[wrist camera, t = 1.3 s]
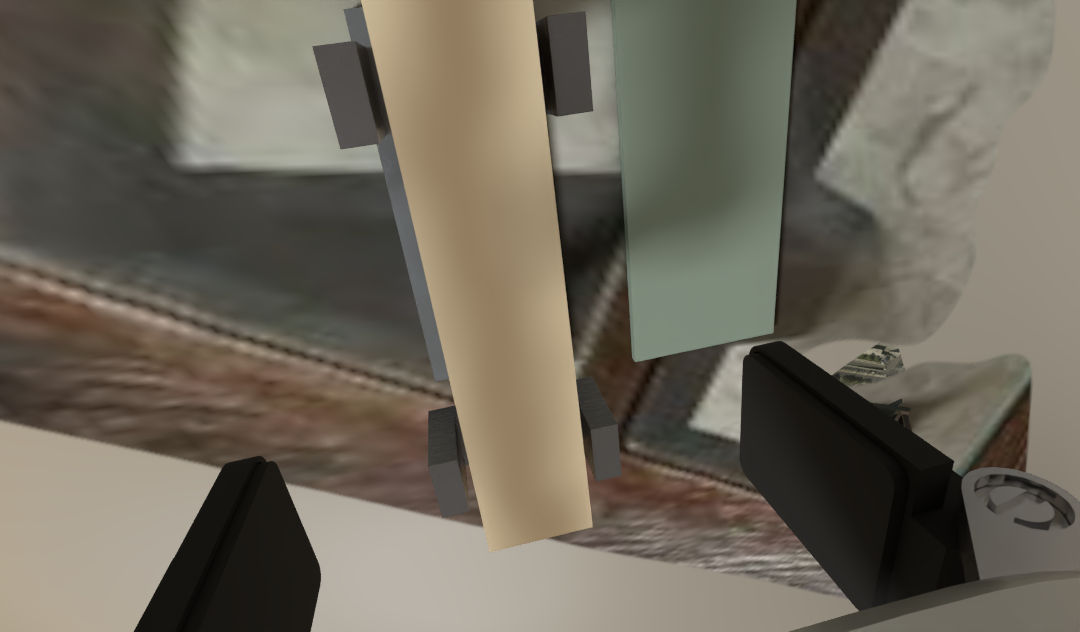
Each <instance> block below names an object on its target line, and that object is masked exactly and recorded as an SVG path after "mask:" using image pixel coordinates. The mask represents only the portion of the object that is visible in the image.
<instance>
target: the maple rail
mask: <svg viewBox="0 0 1080 632" xmlns="http://www.w3.org/2000/svg"><path fill="white" fill-rule="evenodd" d="M361 3H362V7H363V11H364V16H365V20H366V24H367V28H368V33H369V37H370V41H371V46H372V50H373V54H374V58H375V63H376V67H377V71H378V76H379V80H380V84H381V88H382V93H383V97H384V101H385V106H386V110H387V114H388V118H389V123H390V127H391V131H392V136H393V140H394V144H395V148H396V153H397V157H398V161H399V166H400V170H401V174H402V178H403V183H404V187H405V191H406V196H407V200H408V204H409V208H410V213H411V217H412V221H413V226H414V230H415V234H416V238H417V243H418V247H419V251H420V256H421V260H422V264H423V268H424V273H425V277H426V281H427V286H428V290H429V294H430V298H431V303H432V307H433V311H434V316H435V320H436V324H437V328H438V333H439V337H440V341H441V346H442V350H443V354H444V358H445V363H446V367H447V371H448V376H449V380H450V384H451V388H452V393H453V397H454V401H455V406H456V410H457V414H458V418H459V423H460V427H461V431H462V436H463V440H464V444H465V448H466V453H467V457H468V461H469V466H470V470H471V474H472V478H473V483H474V487H475V491H476V496H477V500H478V504H479V508H480V513H481V517H482V521H483V526H484V530H485V534H486V538H487V542H488V547H489V551H490V552H493V551H497V550H501V549H505V548H509V547H513V546H517V545H521V544H526V543H530V542H534V541H538V540H542V539H546V538H550V537H554V536H558V535H562V534H566V533H570V532H574V531H578V530H582V529H586V528H590V527H593V525H592V517H591V508H590V499H589V490H588V481H587V473H586V464H585V455H584V446H583V437H582V429H581V420H580V411H579V402H578V393H577V385H576V376H575V367H574V358H573V349H572V341H571V332H570V323H569V314H568V305H567V297H566V288H565V279H564V270H563V262H562V253H561V244H560V235H559V226H558V218H557V209H556V200H555V191H554V182H553V174H552V165H551V156H550V147H549V138H548V130H547V121H546V112H545V103H544V94H543V86H542V77H541V68H540V59H539V50H538V42H537V33H536V24H535V15H534V7H533V0H361Z"/></svg>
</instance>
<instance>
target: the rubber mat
mask: <svg viewBox="0 0 1080 632" xmlns="http://www.w3.org/2000/svg"><path fill="white" fill-rule="evenodd" d="M611 6H612V23H613V40H614V57H615V74H616V90H617V107H618V124H619V141H620V158H621V175H622V192H623V209H624V226H625V243H626V259H627V276H628V293H629V310H630V327H631V344H632V358H633V359H634V361H635V362H638V361H642V360H647V359H652V358H657V357H661V356H666V355H671V354H676V353H680V352H685V351H690V350H694V349H699V348H704V347H709V346H713V345H718V344H723V343H727V342H732V341H737V340H742V339H746V338H751V337H756V336H761V335H765V334H770V333H773V329H774V315H775V301H776V286H777V272H778V258H779V243H780V229H781V215H782V200H783V186H784V172H785V157H786V143H787V129H788V115H789V100H790V86H791V72H792V57H793V43H794V29H795V14H796V0H611Z"/></svg>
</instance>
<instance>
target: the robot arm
mask: <svg viewBox="0 0 1080 632" xmlns="http://www.w3.org/2000/svg"><path fill="white" fill-rule="evenodd" d="M740 463H741V467H742V470H743V472H744V474H745V475H746V476H747V478H748V479H749V480H750V481H751V483H752V484H753V485H754V486H755V487H756V489H757V490H758V491H759V492H760V493H761V495H762V496H763V497H764V498H765V499H766V501H767V502H768V503H769V504H770V505H771V507H772V508H773V509H774V510H775V511H776V513H777V514H778V515H779V516H780V517H781V519H782V520H783V521H784V522H785V523H786V524H787V526H788V527H789V528H790V529H791V530H792V532H793V533H794V534H795V535H796V536H797V538H798V539H799V540H800V541H801V542H802V544H803V545H804V546H805V547H806V548H807V550H808V551H809V552H810V553H811V554H812V556H813V557H814V558H815V559H816V560H817V562H818V563H819V564H820V565H821V566H822V568H823V569H824V570H825V571H826V572H827V574H828V575H829V576H830V577H831V578H832V580H833V581H834V582H835V583H836V584H837V586H838V587H839V588H840V589H841V590H842V592H843V593H844V594H845V595H846V596H847V598H848V599H849V600H850V601H851V602H852V604H853V605H854V606H855V607H856V608H857V609H858V610H859V611H858V612H855V613H852V614H848V615H845V616H841V617H838V618H835V619H831V620H828V621H824V622H821V623H818V624H814V625H811V626H808V627H804V628H800V629H797V630H793V631H790V632H1080V502H1079V501H1078V500H1077V499H1076V498H1075V497H1074V496H1072V495H1071V494H1070V493H1069V492H1068V491H1066V490H1064V489H1062V488H1061V487H1059V486H1057V485H1055V484H1054V483H1052V482H1050V481H1048V480H1045V479H1042V478H1040V477H1037V476H1035V475H1032V474H1029V473H1025V472H1021V471H1017V470H1013V469H1006V468H997V467H991V468H979V469H977V470H974V471H971V472H968V474H967V475H966V476H965V477H964V478H962V477H961V476H960V475H958V474H957V473H955V472H954V471H953V470H952V468H953V464H954V461H953V460H952V459H950V458H949V457H947V456H946V455H944V454H943V453H942V452H940V451H939V450H937V449H936V448H934V447H933V446H932V445H930V444H929V443H927V442H926V441H924V440H923V439H922V438H920V437H919V436H917V435H916V434H914V433H913V432H912V431H910V430H909V429H907V428H906V427H904V426H903V425H902V424H900V423H899V422H897V421H896V420H894V419H893V418H892V417H890V416H889V415H887V414H886V413H884V412H883V411H882V410H880V409H879V408H877V407H876V406H874V405H873V404H872V403H870V402H869V401H867V400H866V399H864V398H863V397H862V396H860V395H859V394H857V393H856V392H854V391H853V390H852V389H850V388H849V387H847V386H846V385H844V384H843V383H842V382H840V381H839V380H837V379H836V378H834V377H833V376H832V375H830V374H829V373H827V372H826V371H824V370H823V369H821V368H820V367H819V366H817V365H816V364H814V363H813V362H811V361H810V360H809V359H807V358H806V357H804V356H803V355H801V354H800V353H799V352H797V351H796V350H794V349H793V348H791V347H790V346H789V345H787V344H786V343H784V342H782V341H777V342H772V343H767V344H763V345H758V346H754V347H753V348H751V350H750V353H749V355H746V356H745V357H744V359H743V376H742V406H741V435H740ZM320 582H321V573H320V566H319V563H318V561H317V558H316V556H315V553H314V551H313V549H312V546H311V544H310V542H309V539H308V537H307V534H306V532H305V530H304V527H303V525H302V523H301V520H300V518H299V516H298V513H297V511H296V508H295V506H294V504H293V501H292V499H291V496H290V494H289V492H288V489H287V487H286V484H285V482H284V480H283V477H282V475H281V473H280V470H279V468H278V466H277V464H276V463H275V462H273V461H270V462H266V460H265V459H264V458H263V457H261V456H256V457H252V458H247V459H243V460H238V461H234V462H229V463H227V464H225V465H224V467H223V468H222V470H221V472H220V473H219V475H218V477H217V479H216V481H215V483H214V485H213V487H212V488H211V490H210V492H209V494H208V496H207V498H206V500H205V501H204V503H203V505H202V507H201V509H200V511H199V513H198V514H197V516H196V518H195V520H194V522H193V524H192V526H191V527H190V529H189V531H188V533H187V535H186V537H185V539H184V541H183V543H182V544H181V546H180V548H179V550H178V552H177V554H176V555H175V557H174V559H173V560H172V562H171V563H170V565H169V567H168V569H167V571H166V573H165V575H164V577H163V579H162V580H161V582H160V584H159V586H158V588H157V589H156V591H155V593H154V595H153V597H152V599H151V601H150V603H149V605H148V606H147V608H146V610H145V612H144V614H143V616H142V617H141V619H140V621H139V623H138V625H137V627H136V628H135V630H134V632H310V631H311V626H312V622H313V617H314V612H315V607H316V603H317V598H318V593H319V588H320Z"/></svg>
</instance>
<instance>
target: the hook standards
mask: <svg viewBox="0 0 1080 632" xmlns="http://www.w3.org/2000/svg"><path fill="white" fill-rule="evenodd" d="M344 13H345V17H346V21H347V25H348V29H349V33H350V37H351V42H343V43H335V44H327V45H320V46H312V47H313V51H314V54H315V58H316V62H317V65H318V69H319V72H320V76H321V80H322V83H323V87H324V91H325V94H326V98H327V101H328V105H329V109H330V112H331V116H332V119H333V123H334V127H335V130H336V134H337V138H338V141H339V145H340V148H341V149H347V148H353V147H360V146H366V145H373V144H377V147H378V151H379V155H380V159H381V163H382V167H383V171H384V175H385V179H386V183H387V187H388V191H389V195H390V199H391V203H392V208H393V212H394V216H395V220H396V224H397V228H398V232H399V236H400V240H401V244H402V248H403V252H404V256H405V260H406V264H407V268H408V272H409V276H410V280H411V284H412V288H413V293H414V297H415V301H416V305H417V309H418V313H419V317H420V321H421V325H422V329H423V333H424V337H425V341H426V345H427V349H428V353H429V357H430V361H431V365H432V369H433V373H434V378H435V381H440V380H444V379H449V376H448V371H447V367H446V363H445V358H444V354H443V350H442V346H441V341H440V337H439V333H438V328H437V324H436V320H435V316H434V311H433V307H432V303H431V298H430V294H429V290H428V286H427V281H426V277H425V273H424V268H423V264H422V260H421V256H420V251H419V247H418V243H417V238H416V234H415V230H414V226H413V221H412V217H411V213H410V208H409V204H408V200H407V196H406V191H405V187H404V183H403V178H402V174H401V170H400V166H399V161H398V157H397V153H396V148H395V144H394V140H393V136H392V131H391V127H390V123H389V118H388V114H387V110H386V106H385V101H384V97H383V93H382V88H381V84H380V80H379V76H378V71H377V67H376V63H375V58H374V54H373V50H372V46H371V41H370V37H369V33H368V28H367V24H366V20H365V16H364V11H363V7H359V8H351V9H344ZM535 24H536V33H537V42H538V50H539V59H540V68H541V77H542V86H543V94H544V103H545V112H546V113H547V114H551V115H554V116H564V115H571V114H577V113H584V112H590V111H593V103H592V90H591V78H590V65H589V52H588V39H587V26H586V13H585V11H584V12H577V13H569V14H561V15H553V16H547V17H545V18H543V19H541V20H540V21H538V22H536V23H535ZM576 385H577V393H578V402H579V411H580V420H581V429H582V437H583V446H584V454H585V456H586V459H587V461H588V463H589V466H590V468H591V471H592V473H593V475H594V478H595V480H596V481H600V480H604V479H609V478H613V477H617V476H621V463H620V451H619V438H618V425H617V422H616V421H615V419H614V417H613V415H612V413H611V411H610V410H609V408H608V406H607V404H606V402H605V400H604V399H603V397H602V395H601V393H600V391H599V389H598V388H597V386H596V384H595V382H594V380H593V378H592V377H587V378H583V379H578V380H576ZM468 464H469V461H468V457H467V453H466V448H465V444H464V440H463V436H462V431H461V427H460V423H459V418H458V414H457V410H456V406H451V407H446V408H442V409H437V410H432V411H429V414H428V467H429V471H430V474H431V478H432V482H433V485H434V489H435V493H436V496H437V500H438V503H439V507H440V511H441V514H442V518H444V517H448V516H453V515H457V514H461V513H465V512H469V511H470V509H469V498H468V488H467V477H466V466H465V465H468Z"/></svg>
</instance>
